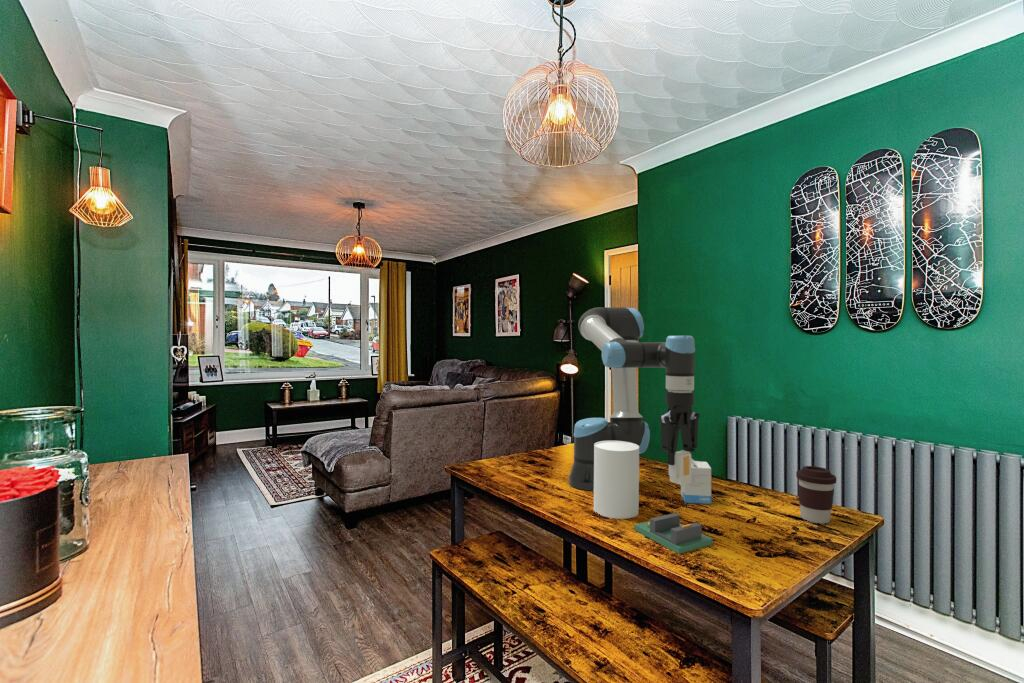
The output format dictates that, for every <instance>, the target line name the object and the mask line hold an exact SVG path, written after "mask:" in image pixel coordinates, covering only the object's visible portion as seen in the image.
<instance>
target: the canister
mask: <svg viewBox="0 0 1024 683" xmlns="http://www.w3.org/2000/svg"><path fill="white" fill-rule="evenodd" d="M639 489H640V454H639V446H638V445H637V444H634V443H630V442H625V441H600V442H596V443H595V444H594V490H593V511H594V512H595V513H596V512H597V513H598V514H597V513H596V514H597V515H599V514H600V516H601V517H605V518H609V519H615V520H616V519H617V520H618V519H619V520H622V519H623V520H624V519H631V518H635V517H637V516H638V515H639V506H640V505H639V504H640V502H639V500H640V498H639V497H640V496H639V495H640V493H639V492H640V490H639Z"/></svg>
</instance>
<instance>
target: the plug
mask: <svg viewBox="0 0 1024 683" xmlns="http://www.w3.org/2000/svg"><path fill="white" fill-rule="evenodd" d="M676 453H677V454H678V478H675V477H672V476H669V482H670V483H674V484H676V485H680V486H681V485H684V484H689V483H691V458H692V453H691V454H690V453H686V452H681V450H678V451H677V450H676Z"/></svg>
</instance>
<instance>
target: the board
mask: <svg viewBox="0 0 1024 683" xmlns="http://www.w3.org/2000/svg"><path fill="white" fill-rule="evenodd" d="M680 520H681V515H680V514H678V513H676V512H673V513H669V514H664V515H660V516H655V517H652V518H649V521H644V522H640V523H636V524H634V531H636V532H638V533H639V534H641V535H643V536H644V537H647V538H648V539H650V540H652V541H653V542H656V543H658V544H660V545H662V546H664V547H665V548H667V549H669V550H671V551H673V552H674V553H676V554H678V555H680V554H684V553H687V552H690V551H694V550H698V549H702V548H704V547H708V546H712V545H714V542H713V541H714V539H713V537H711V536H708V535H706V534H704V533H702V531H703V530H702V528H703V527H702V524H701V523H699V522H692V523H687V524H682V523H681V521H680Z"/></svg>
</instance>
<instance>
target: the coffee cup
mask: <svg viewBox="0 0 1024 683" xmlns="http://www.w3.org/2000/svg"><path fill="white" fill-rule="evenodd" d="M795 477H796V478H797V479H798V484H797V487H798V488H797V489H798V490H797V491H798V503H799V506H800V507H799V508H800V509H799V510H800V517H801V518H802V520H804V521H806V520H807V522H810V523H813V524H818V523H819V524H818V525H820V524H822V525H823V524H824V525H825V523H826V524H828V523H830V522H831V514H832V509H833V504H834V503H833V502H834V493H835V489H834V488H835V487H834V486H835V484H837V476H836V475H834V474H832V473H831V471H830V470H829V469H828V468H826V467H820V466H816V465H805V466H802V468H801V469H799V470H796V473H795Z"/></svg>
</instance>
